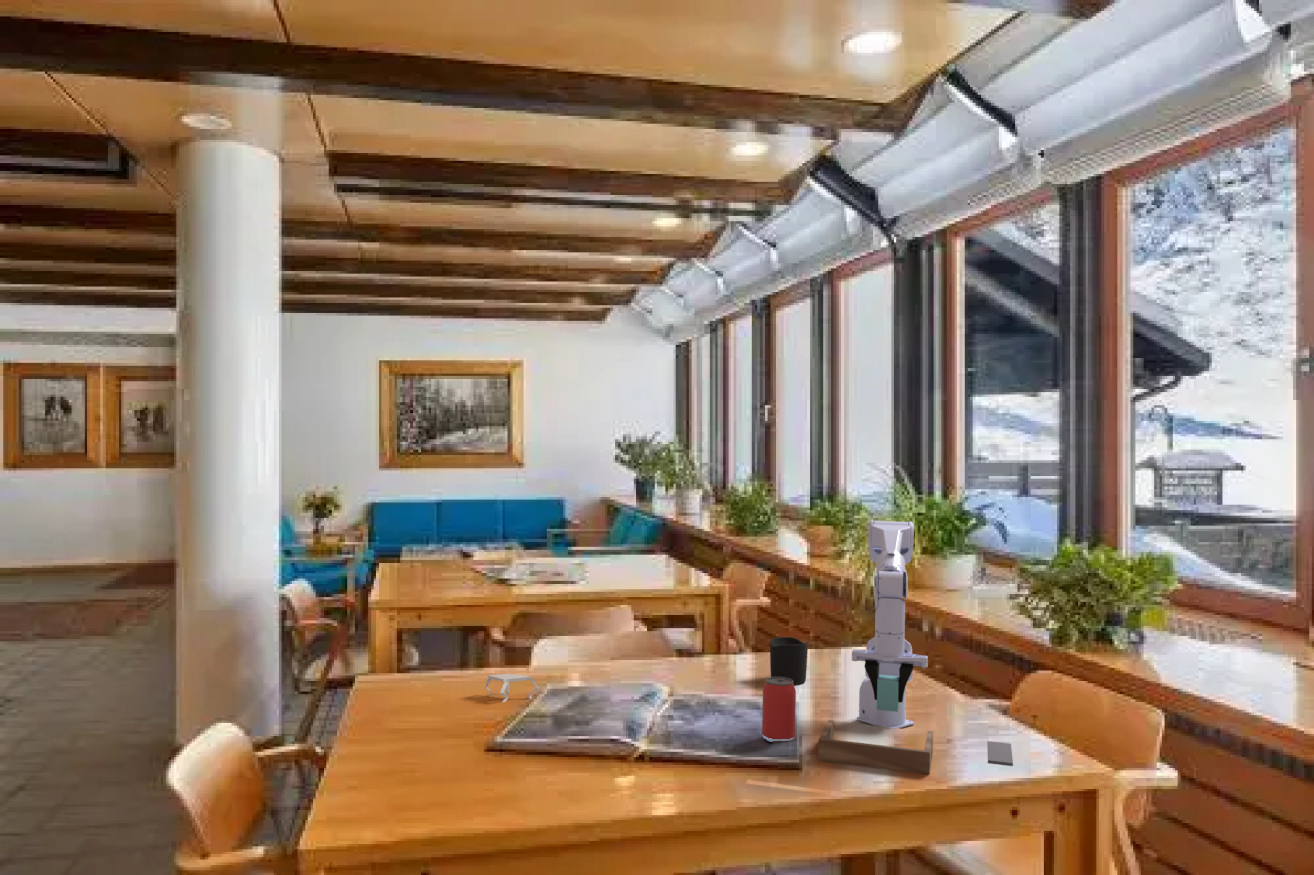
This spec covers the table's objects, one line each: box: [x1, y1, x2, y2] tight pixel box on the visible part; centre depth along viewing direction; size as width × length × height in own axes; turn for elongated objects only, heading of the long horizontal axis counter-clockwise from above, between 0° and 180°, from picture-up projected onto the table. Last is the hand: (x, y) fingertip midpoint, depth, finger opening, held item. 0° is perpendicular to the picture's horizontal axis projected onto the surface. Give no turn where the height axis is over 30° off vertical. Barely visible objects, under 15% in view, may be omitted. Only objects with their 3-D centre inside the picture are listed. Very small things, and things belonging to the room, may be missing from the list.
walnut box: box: [817, 719, 934, 775], centre depth 180 cm, size 13×20×4 cm, turn 71°
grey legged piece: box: [485, 673, 540, 703], centre depth 218 cm, size 12×8×5 cm
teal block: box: [877, 675, 900, 712], centre depth 189 cm, size 4×4×6 cm
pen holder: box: [769, 636, 809, 686], centre depth 237 cm, size 9×9×10 cm
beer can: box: [761, 676, 797, 739], centre depth 191 cm, size 7×7×12 cm
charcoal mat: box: [986, 740, 1014, 766], centre depth 186 cm, size 12×12×1 cm
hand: (888, 699), depth 189 cm, fingers closed on teal block, 4 cm apart
